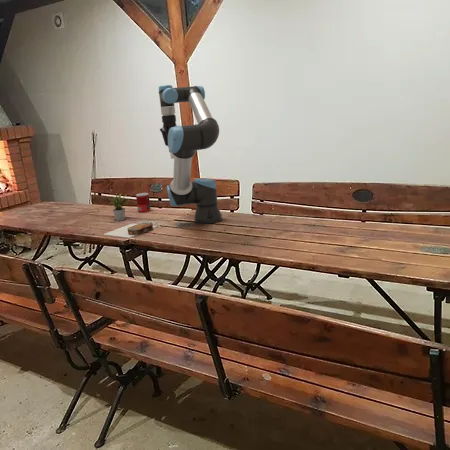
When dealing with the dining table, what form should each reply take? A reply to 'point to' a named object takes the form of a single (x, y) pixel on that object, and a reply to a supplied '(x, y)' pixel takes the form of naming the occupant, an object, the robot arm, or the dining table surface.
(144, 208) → the canned food
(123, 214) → the house plant
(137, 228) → the tin
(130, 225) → the mat
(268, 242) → the dining table surface
